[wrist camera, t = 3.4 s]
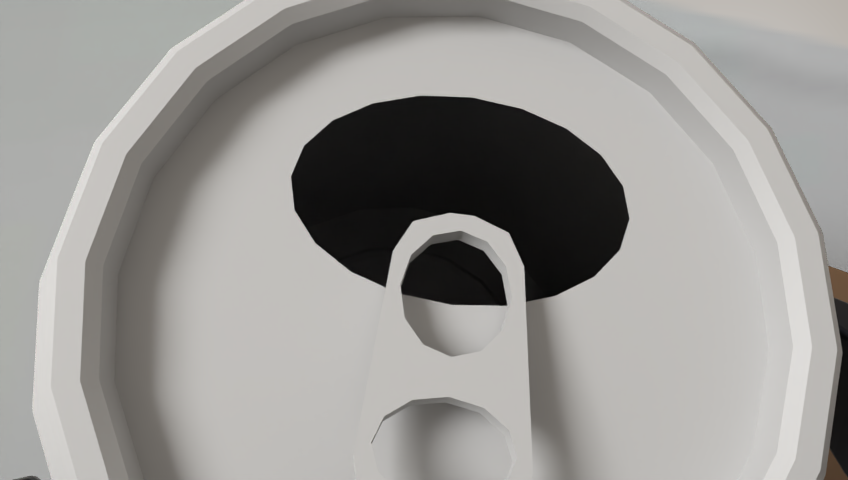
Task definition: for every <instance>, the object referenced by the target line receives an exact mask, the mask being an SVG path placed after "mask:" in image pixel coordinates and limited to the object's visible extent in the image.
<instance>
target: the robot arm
mask: <svg viewBox="0 0 848 480" xmlns="http://www.w3.org/2000/svg"><path fill="white" fill-rule="evenodd" d="M834 303H835V309H836V315H837V321H838V327H839V334H840V340H841V346H842V352H843V353H842V360H841V367H840V375H839V382H838V389H837V396H836V404H835V411H834V418H833V425H832V432H831V440H830V447H829V448H830V450H831V452H832V454H833V455H834V457H835V459H836V460H837V462H838V463H839V465H840V467H841V468H842V470H843V471H844V473H845V474H846V476H847V477H848V303H847V302H844V301H842V300H839V299H837V298H834ZM14 480H40V479H39V478H38V477H36V476H27V477H23V478H19V479H14Z"/></svg>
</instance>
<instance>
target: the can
mask: <svg viewBox="0 0 848 480" xmlns="http://www.w3.org/2000/svg"><path fill="white" fill-rule="evenodd" d="M842 353H843V352H842V346H841V340H840V334H839V327H838V321H837V315H836V309H835V303H834V297H833V291H832V285H831V279H830V273H829V267H828V261H827V255H826V249H825V243H824V237H823V233H822V230H821V228H820V226H819V224H818V222H817V220H816V218H815V216H814V214H813V212H812V210H811V208H810V206H809V204H808V202H807V200H806V198H805V196H804V194H803V192H802V190H801V187H800V185H799V183H798V181H797V179H796V177H795V175H794V173H793V171H792V169H791V167H790V165H789V163H788V161H787V159H786V157H785V155H784V153H783V151H782V149H781V147H780V144H779V142H778V140H777V138H776V136H775V134H774V132H773V130H772V128H771V127H770V126H769V125H768V124H767V123H766V121H765V120H764V119H763V118H762V117H761V116H760V115H759V114H758V113H757V111H756V110H755V109H754V108H753V107H752V106H751V105H750V104H749V103H748V102H747V100H746V99H745V98H744V97H743V96H742V95H741V94H740V93H739V92H738V90H737V89H736V88H735V87H734V86H733V85H732V84H731V83H730V82H729V81H728V79H727V78H726V77H725V76H724V75H723V74H722V73H721V72H720V71H719V70H718V68H717V67H716V66H715V65H714V64H713V63H712V62H711V61H710V60H709V58H708V57H707V56H706V55H705V54H704V53H703V52H702V51H701V50H700V49H699V47H698V46H697V45H696V44H695V43H694V42H692V41H690V40H689V39H687V38H686V37H684V36H682V35H681V34H679V33H678V32H676V31H674V30H673V29H671V28H670V27H668V26H666V25H665V24H663V23H662V22H660V21H658V20H657V19H655V18H654V17H652V16H650V15H649V14H647V13H646V12H644V11H642V10H641V9H639V8H638V7H636V6H634V5H633V4H631V3H630V2H628V1H626V0H244V1H243V2H241V3H240V4H238V5H237V6H235V7H234V8H232V9H231V10H229V11H228V12H226V13H224V14H223V15H221V16H220V17H218V18H217V19H215V20H214V21H212V22H211V23H209V24H208V25H206V26H205V27H203V28H202V29H200V30H199V31H197V32H195V33H194V34H192V35H191V36H189V37H188V38H186V39H185V40H183V41H182V42H180V43H179V44H177V45H176V46H174V47H173V48H171V49H170V50H169V52H168V53H167V54H166V55H165V57H164V58H163V59H162V60H161V61H160V63H159V64H158V65H157V66H156V68H155V69H154V70H153V71H152V72H151V74H150V75H149V76H148V77H147V79H146V80H145V81H144V82H143V83H142V85H141V86H140V87H139V88H138V89H137V91H136V92H135V93H134V94H133V96H132V97H131V98H130V99H129V100H128V102H127V103H126V104H125V105H124V107H123V108H122V109H121V110H120V111H119V113H118V114H117V115H116V116H115V118H114V119H113V120H112V121H111V122H110V124H109V125H108V126H107V127H106V128H105V130H104V131H103V132H102V133H101V135H100V136H99V137H98V138H97V139H96V141H95V142H94V144H93V147H92V149H91V152H90V155H89V157H88V160H87V162H86V165H85V167H84V169H83V172H82V174H81V177H80V179H79V182H78V185H77V187H76V190H75V192H74V195H73V197H72V200H71V202H70V205H69V207H68V210H67V213H66V215H65V218H64V220H63V223H62V225H61V228H60V230H59V233H58V235H57V238H56V240H55V243H54V246H53V248H52V251H51V253H50V256H49V258H48V261H47V263H46V266H45V268H44V271H43V274H42V276H41V279H40V281H39V297H38V315H37V333H36V351H35V369H34V386H33V404H32V412H33V415H34V419H35V422H36V426H37V429H38V433H39V437H40V440H41V444H42V447H43V451H44V454H45V458H46V462H47V465H48V469H49V472H50V476H51V480H824V477H825V475H826V468H827V461H828V454H829V447H830V440H831V432H832V425H833V418H834V411H835V404H836V396H837V389H838V382H839V375H840V367H841V360H842Z"/></svg>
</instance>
